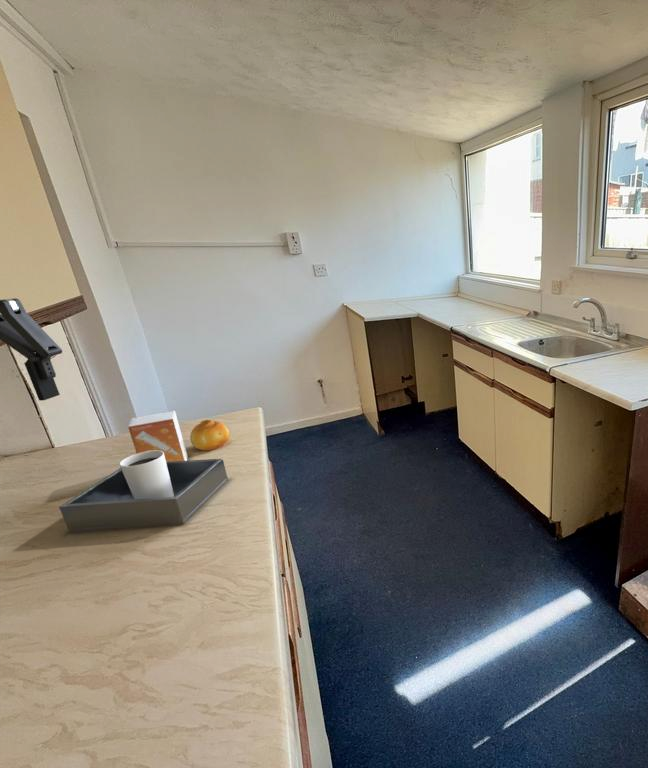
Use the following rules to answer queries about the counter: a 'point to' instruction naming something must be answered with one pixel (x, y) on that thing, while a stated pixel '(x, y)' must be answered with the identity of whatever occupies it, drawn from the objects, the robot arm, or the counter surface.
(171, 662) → the counter surface
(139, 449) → the small box
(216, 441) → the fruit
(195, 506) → the tray
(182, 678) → the counter surface
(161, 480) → the white cup
